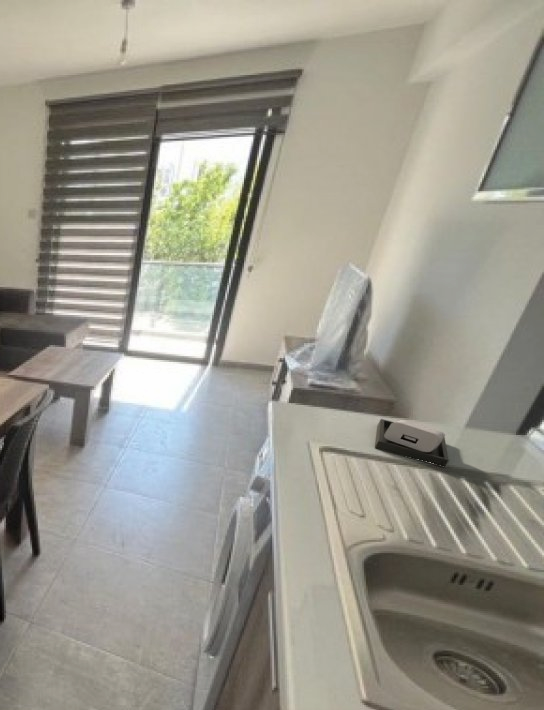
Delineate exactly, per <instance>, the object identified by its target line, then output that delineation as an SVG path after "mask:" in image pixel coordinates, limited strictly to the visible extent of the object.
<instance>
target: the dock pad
mask: <svg viewBox="0 0 544 710" xmlns="http://www.w3.org/2000/svg"><path fill="white" fill-rule="evenodd" d="M394 422H395V421H392V420H387V419H384V418H380V419H379V422H377V426H376V432H375V433H376V435H375V443H374V449H377V450H380V451H384V452H387V453H390V454H394V455H398V456H401V455H402V456H401V457H405V456H407V457H406V458H408V457H411V458H410V459H412V458H414V459H413V460H415V459H419V460H423V461H427V462H431V463H434V464H437V465H441V466H444V467H443V468H445V467H446V466H447V464H448V462H449V461H450V459H449V454H448V449H447V448H448V447H447V442H446V436H445V437H444V438H443V440H442V441H441V443H440V444H439V446H438V447H437V448H436V449H434V450H432V451H431V452H422V451H419V450H416V449H413V448H410V447H407V446H404V445H401V444H398V443H395V442H393V441H390V440H388V439H386V438H385V437H384V434H385V433H386V431H387V430H388V428H389V426H390V425H391V423H394ZM419 460H418V461H419ZM437 465H436V466H437Z"/></svg>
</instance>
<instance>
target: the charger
mask: <svg viewBox="0 0 544 710" xmlns="http://www.w3.org/2000/svg"><path fill="white" fill-rule="evenodd" d="M393 422H394V423H391V425H390V426H389V428H388V430H387V431H386V433H385V434H384V437H385V438H386V439H388V440H390V441H393V442H395V443H398V444H401V445H404V446H407V447H410V448H413V449H416V450H419V451H422V452H431V451H432V450H434V449H436V448H437V447H438V446H439V444H440V443H441V441H442V440H443V438H444V437H445V438H446V434H445V433H444V432H443V431H441V430H439V429H436V428H432V427H429V426H426V425H423V424H419V423H416V422H413V421H409V420H406V419H401V420H397V421H393Z"/></svg>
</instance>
